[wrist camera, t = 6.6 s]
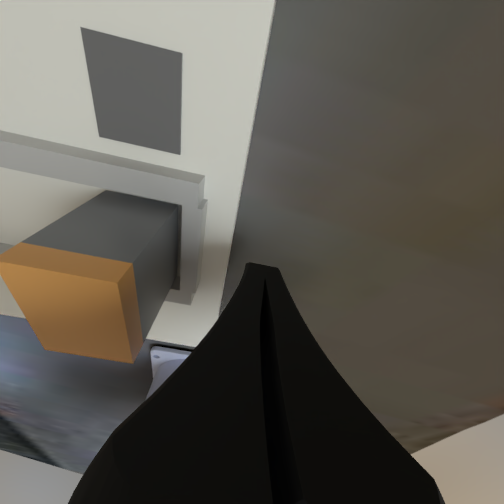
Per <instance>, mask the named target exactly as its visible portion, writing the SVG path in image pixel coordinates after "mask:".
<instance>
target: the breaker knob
mask: <svg viewBox="0 0 504 504" xmlns="http://www.w3.org/2000/svg"><path fill="white" fill-rule="evenodd" d="M177 261H178V205H175V204H170V203H165V202H161V201H156V200H151V199H146V198H142V197H137V196H132V195H127V194H123V193H118V192H113V191H108V190H105V191H104V192H102V193H100V194H99V195H97V196H95V197H94V198H92V199H91V200H89V201H87V202H86V203H84V204H82V205H81V206H79V207H77V208H76V209H74V210H72V211H71V212H69V213H68V214H66V215H64V216H63V217H61V218H59V219H58V220H56V221H54V222H53V223H51V224H50V225H48V226H46V227H45V228H43V229H41V230H40V231H38V232H36V233H35V234H33V235H32V236H30V237H28V238H27V239H25V240H23V241H22V242H20V243H18V244H17V245H15V246H14V247H12V248H10V249H9V250H7V251H5V252H4V253H2V254H0V275H1V277H2V279H3V280H4V282H5V284H6V285H7V287H8V289H9V290H10V292H11V294H12V295H13V297H14V299H15V300H16V302H17V304H18V305H19V307H20V309H21V311H22V312H23V314H24V316H25V317H26V319H27V321H28V322H29V324H30V326H31V327H32V329H33V331H34V332H35V334H36V336H37V337H38V339H39V341H40V342H41V344H42V346H43V348H44V349H45V350H50V351H56V352H62V353H68V354H75V355H81V356H87V357H94V358H100V359H106V360H113V361H119V362H125V363H131V364H133V363H134V361H135V359H136V357H137V355H138V353H139V351H140V349H141V347H142V345H143V343H144V341H145V339H146V337H147V335H148V333H149V331H150V329H151V327H152V325H153V323H154V321H155V319H156V317H157V315H158V313H159V311H160V309H161V307H162V305H163V302H164V300H165V298H166V296H167V294H168V292H169V290H170V288H171V286H172V284H173V282H174V280H175V278H176V276H177Z"/></svg>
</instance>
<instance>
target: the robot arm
mask: <svg viewBox="0 0 504 504" xmlns="http://www.w3.org/2000/svg"><path fill="white" fill-rule="evenodd" d="M150 354H151V364H152V373H153V382H152V384H151V387H150V389H149V392H148V394H147V397H146V399H145V401H144V402H143V403H142V404H141V405H140V406H139V407H138V408H137V409H136V410H135V411H134V412H133V413H132V414H131V415H130V416H129V417H128V418H127V419H126V420H124V421H123V422H122V423H121V424H120V425H119V426H118V427H117V428H116V429H115V430H114V431H113V433H112V434H111V435H110V437H109V438H108V439H107V441H106V442H105V444H104V445H103V446H102V448H101V449H100V451H99V452H98V453H97V455H96V456H95V458H94V459H93V461H92V462H91V464H90V465H89V467H88V468H87V470H86V471H85V473H84V475H83V476H82V478H81V480H80V482H79V483H78V485H77V487H76V489H75V490H74V492H73V495H72V496H71V499H70V501H69V503H68V504H445V502H444V500H443V497H442V495H441V493H440V491H439V489H438V487H437V485H436V482H435V480H434V479H433V478H432V477H431V476H430V475H429V474H428V472H427V471H426V470H425V469H423V467H422V466H421V465H420V464H419V463H418V462H417V461H416V460H415V459H414V458H413V457H412V456H411V455H410V454H409V453H408V452H407V451H406V450H405V449H404V448H403V447H402V446H401V445H400V443H399V442H398V441H397V440H396V439H395V438H394V437H393V436H392V435H391V434H390V433H389V432H388V431H387V430H386V429H385V428H384V426H383V425H382V424H381V423H380V422H379V421H378V420H377V419H376V417H375V416H374V415H373V414H372V413H371V412H370V411H369V410H368V408H367V407H366V406H365V405H364V404H363V403H362V401H361V400H360V399H359V398H358V397H357V395H356V394H355V393H354V392H353V390H352V389H351V388H350V387H349V385H348V384H347V383H346V382H345V380H344V379H343V378H342V377H341V375H340V374H339V373H338V372H337V370H336V369H335V367H334V366H333V365H332V363H331V362H330V361H329V359H328V358H327V356H326V355H325V354H324V352H323V351H322V349H321V348H320V346H319V345H318V343H317V342H316V340H315V338H314V337H313V335H312V334H311V332H310V330H309V329H308V327H307V325H306V324H305V322H304V320H303V318H302V317H301V315H300V313H299V311H298V309H297V307H296V305H295V303H294V301H293V299H292V297H291V295H290V293H289V291H288V289H287V287H286V284H285V282H284V280H283V277H282V275H281V273H280V270H279V269H278V268H275V267H270V266H265V265H260V264H255V263H250V262H249V263H247V264H246V266H245V270H244V274H243V277H242V279H241V281H240V284H239V286H238V287H237V289H236V291H235V293H234V295H233V297H232V298H231V300H230V301H229V303H228V305H227V306H226V308H225V309H224V311H223V312H222V314H221V315H220V317H219V318H218V320H217V321H216V322H215V324H214V325H213V326H212V328H211V329H210V330H209V332H208V333H207V334H206V336H205V337H204V338H203V339H202V340H201V342H200V343H199V344H198V345H197V346H196V348H195V349H194V350H193V351H192V352H190V351H184V350H178V349H172V348H165V347H159V346H154V347H152V349H151V351H150Z"/></svg>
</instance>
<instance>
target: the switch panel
mask: <svg viewBox="0 0 504 504" xmlns="http://www.w3.org/2000/svg"><path fill="white" fill-rule="evenodd" d="M275 6H276V0H0V254H2V253H4V252H5V251H7V250H9V249H10V248H12V247H14V246H15V245H17V244H18V243H20V242H22V241H23V240H25V239H27V238H28V237H30V236H32V235H33V234H35V233H36V232H38V231H40V230H41V229H43V228H45V227H46V226H48V225H50V224H51V223H53V222H54V221H56V220H58V219H59V218H61V217H63V216H64V215H66V214H68V213H69V212H71V211H72V210H74V209H76V208H77V207H79V206H81V205H82V204H84V203H86V202H87V201H89V200H91V199H92V198H94V197H95V196H97V195H99V194H100V193H102V192H104V191H105V190H108V191H113V192H118V193H123V194H127V195H132V196H137V197H142V198H146V199H151V200H156V201H161V202H165V203H170V204H175V205H178V261H177V276H176V278H175V280H174V282H173V284H172V286H171V288H170V290H169V292H168V294H167V296H166V298H165V300H164V302H163V305H162V307H161V309H160V311H159V313H158V315H157V317H156V319H155V321H154V323H153V325H152V327H151V329H150V331H149V333H148V335H147V337H146V339H151V340H157V341H163V342H169V343H175V344H181V345H187V346H193V347H196V346H197V345H198V344H199V343H200V342H201V340H202V339H203V338H204V337H205V336H206V334H207V333H208V332H209V330H210V329H211V328H212V326H213V325H214V324H215V322H216V321H217V320H218V317H219V311H220V306H221V300H222V295H223V289H224V284H225V278H226V273H227V268H228V262H229V257H230V251H231V246H232V240H233V235H234V229H235V224H236V218H237V213H238V208H239V202H240V197H241V191H242V186H243V180H244V175H245V169H246V164H247V158H248V153H249V147H250V142H251V137H252V131H253V126H254V120H255V115H256V109H257V104H258V98H259V93H260V87H261V82H262V76H263V71H264V66H265V60H266V55H267V49H268V44H269V38H270V33H271V27H272V22H273V16H274V11H275ZM0 314H2V315H8V316H14V317H19V318H25V319H26V317H25V316H24V314H23V312H22V311H21V309H20V307H19V305H18V304H17V302H16V300H15V299H14V297H13V295H12V294H11V292H10V290H9V289H8V287H7V285H6V284H5V282H4V280H3V279H2V277H1V275H0Z"/></svg>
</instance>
